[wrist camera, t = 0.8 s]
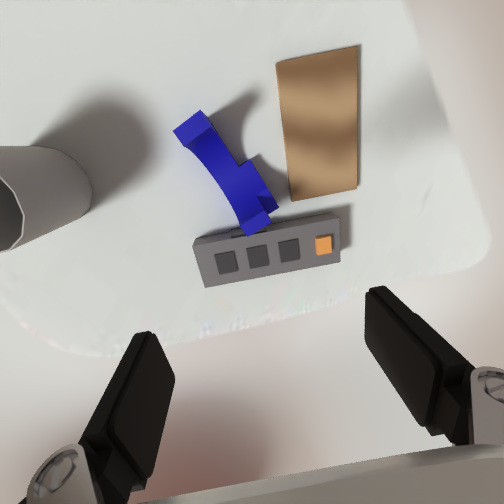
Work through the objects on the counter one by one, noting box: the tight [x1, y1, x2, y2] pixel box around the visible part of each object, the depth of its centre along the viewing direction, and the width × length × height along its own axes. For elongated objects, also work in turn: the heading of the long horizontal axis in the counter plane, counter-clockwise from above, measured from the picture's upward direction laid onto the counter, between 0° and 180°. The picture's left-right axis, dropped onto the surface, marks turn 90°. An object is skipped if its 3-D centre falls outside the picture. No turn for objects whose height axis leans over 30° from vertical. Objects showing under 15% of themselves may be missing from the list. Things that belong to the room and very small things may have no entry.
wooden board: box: [275, 46, 357, 202], centre depth 27 cm, size 14×8×1 cm, turn 10°
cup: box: [0, 146, 93, 253], centre depth 23 cm, size 8×8×10 cm
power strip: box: [192, 213, 340, 288], centre depth 31 cm, size 18×6×4 cm, turn 100°
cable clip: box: [173, 110, 279, 237], centre depth 26 cm, size 12×4×6 cm, turn 33°
